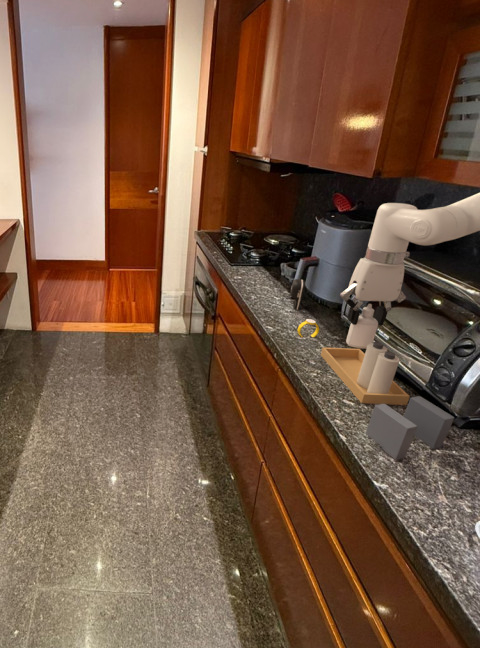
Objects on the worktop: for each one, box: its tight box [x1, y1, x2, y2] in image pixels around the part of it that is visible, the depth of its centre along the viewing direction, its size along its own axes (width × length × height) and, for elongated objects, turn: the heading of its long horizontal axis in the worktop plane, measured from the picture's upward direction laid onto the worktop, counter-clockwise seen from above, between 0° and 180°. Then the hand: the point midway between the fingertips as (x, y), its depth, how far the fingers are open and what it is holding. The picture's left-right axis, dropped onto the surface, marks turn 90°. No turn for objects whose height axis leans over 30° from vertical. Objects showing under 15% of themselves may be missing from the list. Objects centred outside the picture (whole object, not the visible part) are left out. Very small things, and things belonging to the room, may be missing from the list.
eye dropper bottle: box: [345, 303, 379, 350], centre depth 100 cm, size 4×6×12 cm
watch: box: [297, 318, 320, 338], centre depth 121 cm, size 6×3×6 cm, turn 87°
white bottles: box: [357, 341, 400, 394], centre depth 94 cm, size 8×4×12 cm, turn 176°
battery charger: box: [289, 278, 306, 314], centre depth 138 cm, size 7×4×11 cm, turn 155°
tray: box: [320, 347, 411, 406], centre depth 101 cm, size 21×10×3 cm, turn 176°
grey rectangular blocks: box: [365, 395, 455, 461], centre depth 80 cm, size 12×7×8 cm, turn 105°
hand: (364, 322), depth 100 cm, fingers closed on eye dropper bottle, 5 cm apart
